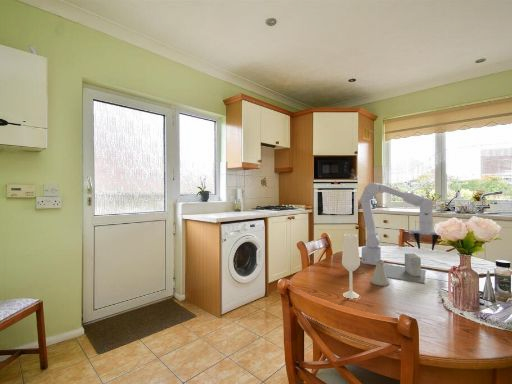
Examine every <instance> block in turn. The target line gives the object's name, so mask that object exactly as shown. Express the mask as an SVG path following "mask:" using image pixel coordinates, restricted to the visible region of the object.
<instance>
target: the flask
mask: <svg viewBox="0 0 512 384" xmlns="http://www.w3.org/2000/svg"><path fill="white" fill-rule="evenodd" d="M384 263H385V260H382V259H381V260H376V265H375V269H374V272H373V274H372V277H371V279H370V282H371V284H373V285H375V286H381V287H383V286H384V287H385V286H388V285H390V282H389V281H390V280H389V278H387V276H386V273H385V271H384Z"/></svg>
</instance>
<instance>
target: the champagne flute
mask: <svg viewBox="0 0 512 384" xmlns="http://www.w3.org/2000/svg"><path fill="white" fill-rule="evenodd" d="M358 239H359V238H358V234H354V233H344V235H343V244H342V245H343V246H342V255H341V256H342V257H341V264H342V266H343V268H345V269H346V270H347V271H348V272H349V273H348V276H349V279H348V280H349V286H348V287H349V289H348V291H346V292H343V293H342V294H343V296H344V297H346V298H345V299H347V298H351V299H353V298H358V297H359V296H360V294H358V293H357V292H355V291H354V290H353V287H354V286H353V283H354V282H353V281H354V280H353V272H354V271H356V270H357V269H359V267H360V265H361V259H360V251H359V250H360V249H359V240H358ZM343 296H342V297H343ZM344 297H343V298H344ZM351 299H350V300H351Z"/></svg>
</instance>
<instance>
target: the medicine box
mask: <svg viewBox="0 0 512 384" xmlns="http://www.w3.org/2000/svg"><path fill="white" fill-rule="evenodd" d="M421 259H422V258H421V257H420V256H418V255H417V254H415V253H410V252H409V253H404V267H405V271H406V272H407V273H409V274H410V275H411V276H421V268H422V267H421V266H422V265H421V264H422V263H421V261H422V260H421Z"/></svg>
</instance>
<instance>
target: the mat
mask: <svg viewBox="0 0 512 384" xmlns="http://www.w3.org/2000/svg"><path fill="white" fill-rule="evenodd" d="M383 267H384V271H385V273H386V276H387V278H388V279H394V280H399V281H405V282H410V283H411V282H412V283H418V284H423V285H424V284H425V278H426V272H427V271H426V269H421V276H411V275H410V274H409V273H407V272H406V271H405V266H401V265H394V264H387V263H386V264H384V265H383Z"/></svg>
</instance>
